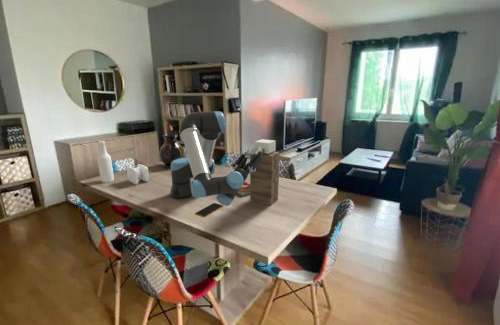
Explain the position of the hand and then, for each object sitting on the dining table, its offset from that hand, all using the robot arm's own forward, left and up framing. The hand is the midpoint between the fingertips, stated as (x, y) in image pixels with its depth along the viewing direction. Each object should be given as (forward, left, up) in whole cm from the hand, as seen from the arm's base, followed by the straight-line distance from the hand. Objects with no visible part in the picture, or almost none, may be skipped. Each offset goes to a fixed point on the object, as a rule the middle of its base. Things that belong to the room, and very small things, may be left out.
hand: (257, 147), depth 145 cm
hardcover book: (-28, +4, -35) cm, 45 cm away
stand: (-5, +8, -35) cm, 36 cm away
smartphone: (-9, -26, -35) cm, 45 cm away
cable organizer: (-80, -54, -35) cm, 103 cm away
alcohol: (-93, -74, -35) cm, 124 cm away
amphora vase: (-108, -22, -35) cm, 115 cm away
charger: (-1, +1, -4) cm, 4 cm away
